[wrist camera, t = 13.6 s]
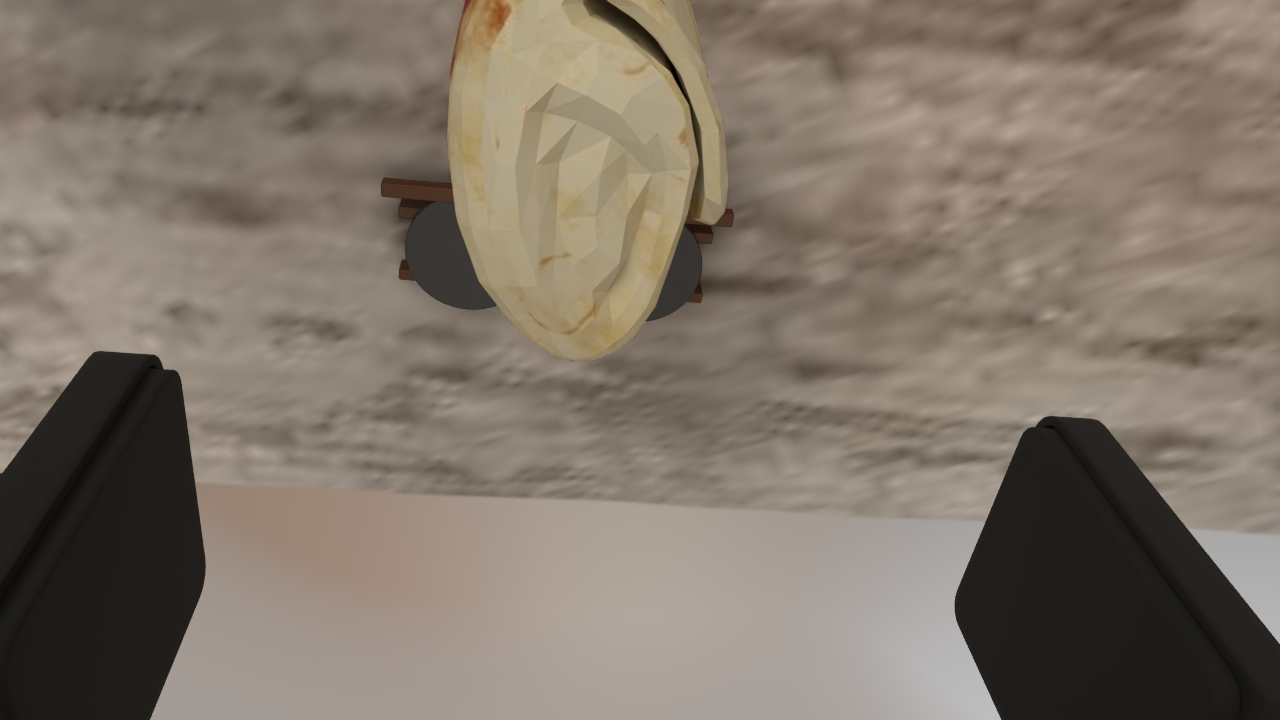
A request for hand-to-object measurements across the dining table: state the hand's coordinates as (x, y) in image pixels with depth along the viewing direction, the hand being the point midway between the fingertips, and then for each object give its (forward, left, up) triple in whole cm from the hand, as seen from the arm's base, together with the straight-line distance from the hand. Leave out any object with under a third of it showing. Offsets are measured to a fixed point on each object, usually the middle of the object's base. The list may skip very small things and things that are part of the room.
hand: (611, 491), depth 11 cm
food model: (0, -1, -30) cm, 30 cm away
